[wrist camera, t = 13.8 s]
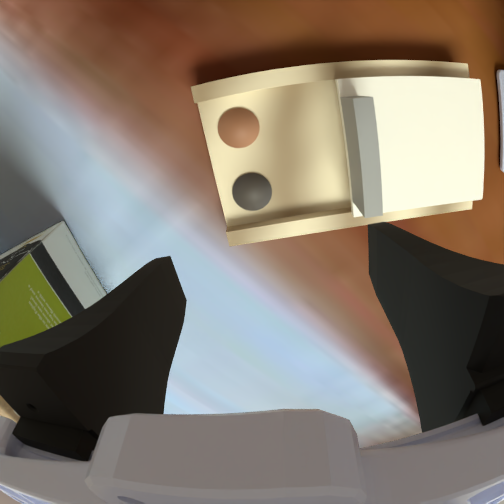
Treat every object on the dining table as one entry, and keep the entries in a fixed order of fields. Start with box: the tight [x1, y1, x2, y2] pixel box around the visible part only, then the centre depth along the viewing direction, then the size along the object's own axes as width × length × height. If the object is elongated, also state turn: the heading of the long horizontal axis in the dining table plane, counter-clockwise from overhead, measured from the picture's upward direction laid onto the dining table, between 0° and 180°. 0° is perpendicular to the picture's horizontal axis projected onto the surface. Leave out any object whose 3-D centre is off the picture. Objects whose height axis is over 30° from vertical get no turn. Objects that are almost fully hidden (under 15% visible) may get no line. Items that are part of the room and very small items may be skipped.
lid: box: [335, 76, 484, 218], centre depth 15 cm, size 10×8×3 cm
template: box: [191, 60, 472, 246], centre depth 18 cm, size 17×10×2 cm, turn 101°
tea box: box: [0, 221, 107, 423], centre depth 19 cm, size 15×10×15 cm
